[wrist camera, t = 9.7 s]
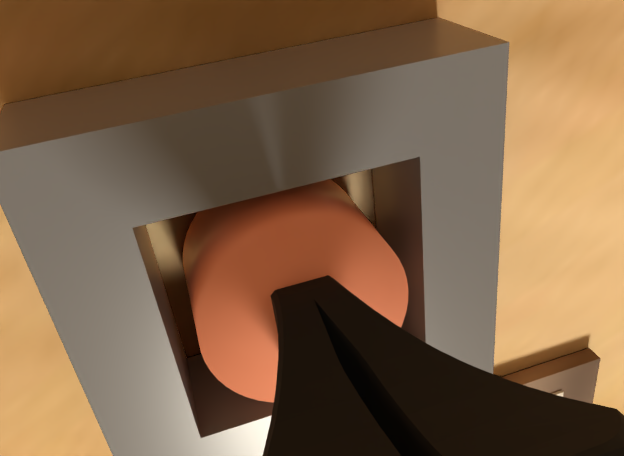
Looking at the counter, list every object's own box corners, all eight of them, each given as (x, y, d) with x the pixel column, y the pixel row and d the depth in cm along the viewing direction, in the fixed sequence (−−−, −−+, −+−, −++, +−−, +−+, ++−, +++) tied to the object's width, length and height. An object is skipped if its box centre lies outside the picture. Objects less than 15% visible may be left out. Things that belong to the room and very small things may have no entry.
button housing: (438, 17, 14) (508, 42, 12) (442, 332, 19) (492, 396, 17) (4, 103, 12) (-22, 155, 10) (135, 428, 18) (140, 516, 15)
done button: (353, 146, 15) (403, 197, 12) (367, 299, 17) (412, 366, 15) (161, 192, 14) (173, 257, 11) (205, 346, 16) (222, 427, 14)
